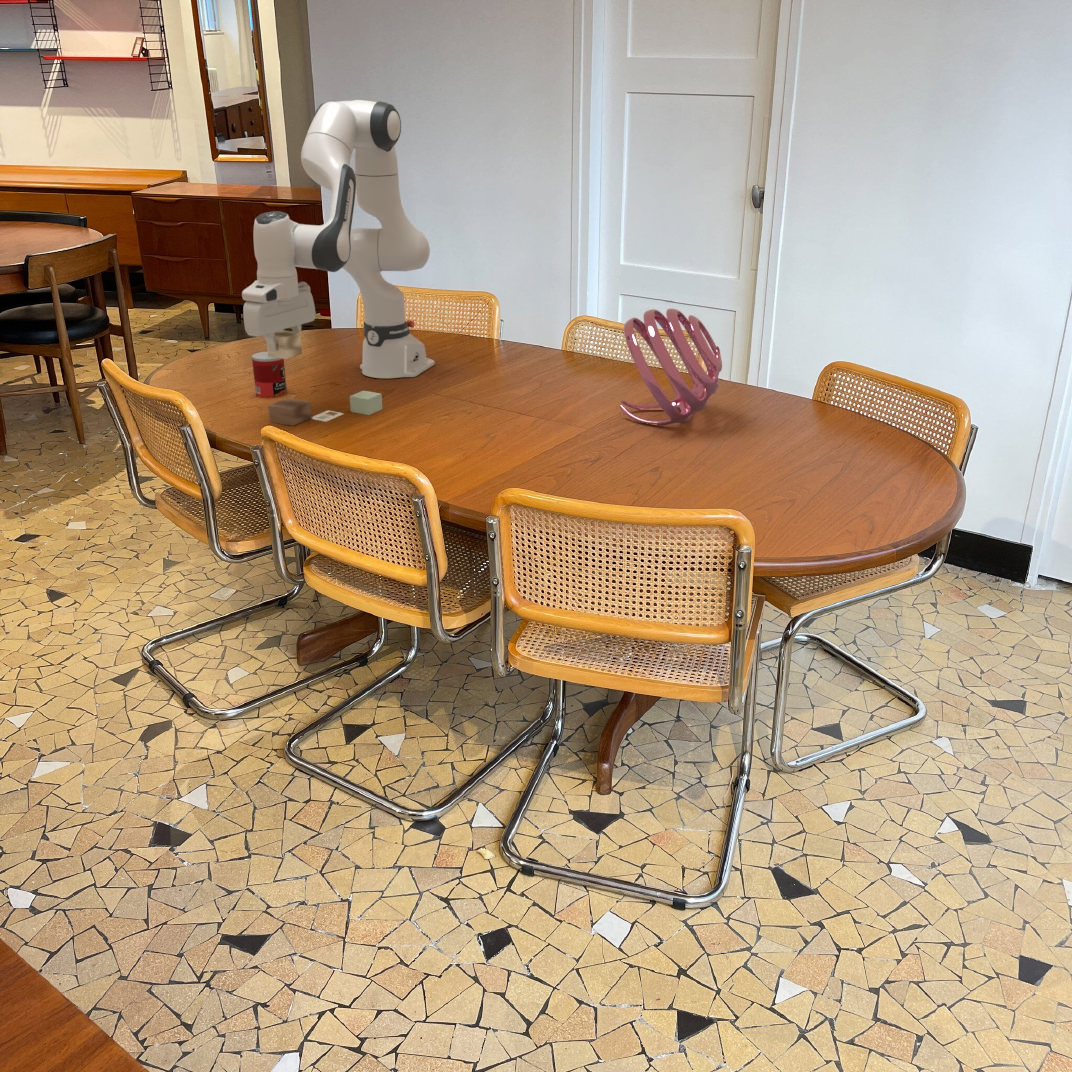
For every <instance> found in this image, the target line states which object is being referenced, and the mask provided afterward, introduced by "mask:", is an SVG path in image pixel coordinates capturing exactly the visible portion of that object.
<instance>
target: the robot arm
mask: <svg viewBox="0 0 1072 1072" xmlns="http://www.w3.org/2000/svg"><path fill="white" fill-rule="evenodd" d="M401 133H402V121H401V116H400V114H399V111H397V109H396V107H395V106H394V105H393V104H391V103H388V102H384V101H371V100H365V99H354V100H340V101H336V100H330V101H325V102H322V103H321V104H319V106H318V107H317V109H316V110H315V112H314V117H313V119H312V121H311V123H310V125H309V128H308V130H307V133H306V136H305V139H304V141H303V144H302V147H301V152H300V160H301V161H300V162H301V165H302V168H303V170H304V172H305V173H306V174H307V176H308V177H309V178H310V179H311V180H313V181H314V182H315V183H317V184H318V185H319V186H321V187H323V188H324V189H327V190H329V191H330V192H331V193H332V195H331V199H330V201H331V202H330V207H329V214H328V220H327V221H326V222H325V223H323V224H320V225H316V224H304V223H298V222H296V221H293V220H292V219H290V216H289V214H288V213H286V212H283V211H278V210H277V211H274V210H273V211H269V212H263V213H261V214H259V215H258V216H256V217H255V219H254V224H253V232H252V233H253V238H252V239H253V251H254V257H255V260H256V262H257V270H256V280H254V281H253V283H251V284H250V285H249V286H247V287H246V288H244V289H243V290H242V292H241V297H242V300H243V301H245V302H244V304H243V307H242V308H243V309H242V312H243V323H244V330H245V332H246V334H247V335H248V336H251V337H257V338H259V337H262V336H263V339H264V340H265V341H266V344H267V343H268V347H269V351H271V352H275V351H278V350H279V348H278V346H279V345H278V343H275V341H274V339H273V337H274V332H277V331H281V330H287V329H291V331H292V332H299V333H300V334H301V332H302V325H303V324H308V323H311V322H314V321H315V319H316V317H317V316H316V315H317V314H316V307H315V301H314V297H313V295H312V293H311V287H310V285H309V284H308V283H307V282H305V281H299V280H298V272H297V268H296V267H298V268H301V269H302V268H303V269H315V270H321V271H325V272H331V273H336V272H338V271H340V270H341V269H342V270H345V271H346V272H347V273H348V274H349V276H351V277H352V279H353V280H354V282H355V283H356V284H357V286H358V288H359V291H360V294H361V299H362V304H363V312H364V313H363V314H364V322H363V328H362V329H363V335H364V339H363V341H362V363H361V364H360V365H359V368H360V370H361V373H362V375H364V376H367V377H370V378H376V379H398V378H415V377H417V376H418V375H420V374H423V372H425V371H427V370H428V369H429V368H431V367H433V366H434V365H435V360H433V359H431V358H428V357H427V351H426V347H425V344H424V343H423V342H422V341H420V340H419V339H418V338H417V337H415V336H414V335H412V333H411V330H410V328H411V329H413V328H415V327H416V322H415V320H411V319H407V320H406V312H405V311H406V307H405V295H404V293H403V291H402V290H401V289H400V288H399V287H398V286H396V285H394V284H392V283H390V282H388V281H387V280H385V278H384V277H383V276H382V273H381V272H409V271H415V270H419V269H420V270H421V269H423V268H424V266H426V264H427V263H428V261H429V257H430V250H431V249H430V245H429V241H428V239H427V237H426V236H425V235H424V233H422V232H421V231H420V230H419V229H417V227H415V226H414V224H413V223H412V222H411V221H410V220H409V219H408V216H407V215H406V213H405V211H404V208H403V205H402V201H401V193H400V182H399V181H400V180H399V166H398V158H397V153H396V152H397V151H396V147H395V145H397V144H396V143H398V141H399V138H400V136H401ZM353 150H354V151H355V152H354V169H353V167H351V166H350V161H351V158H352V157H351V156H352V154H353ZM355 200H356V202H357V205H358V207H360V209H361V210H362V211H363V212H365V213H366V214H368V215H371V217H374V218H376V220H378V221H379V223H380V226H381V228H363V227H362V228H360V227H359V228H357V227H356V228H352V223H353V216H354V208H355ZM298 281H299V282H298Z"/></svg>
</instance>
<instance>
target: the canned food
mask: <svg viewBox="0 0 1072 1072" xmlns="http://www.w3.org/2000/svg"><path fill="white" fill-rule="evenodd" d="M284 360H285V359H282V358H276V357H270V356H268V351H261V352H260V351H259V352H256V353H254V354H252V356H251V361H252V362H251V364H252V371H253V378H254V379H253V380H254V386H255V387H254V389H255V395H256V397H257V398H264V399H265V398H266V399H269V398H270V399H273V398H274V399H275V398H279V397H281V398H282V397H283V396H286V395H287V394H288V390H287V389H288V388H287V380H286V379H287V378H286V368H285V361H284Z"/></svg>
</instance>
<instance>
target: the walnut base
mask: <svg viewBox="0 0 1072 1072" xmlns="http://www.w3.org/2000/svg"><path fill="white" fill-rule="evenodd" d="M311 403H312V402H311V401H308V400H303V399H295V398H289V397H287V398H285V399H281V400H279V401H277V402H275V403H272V404H269V405H267V408H268V415H269V422H270V423H276V424H281V425H284V426H285V425H287V426H292V427H293V426H297V425H298V424H302V422H306V421H308V420H311V419H310V418H312V417H313V411H312V404H311Z"/></svg>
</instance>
